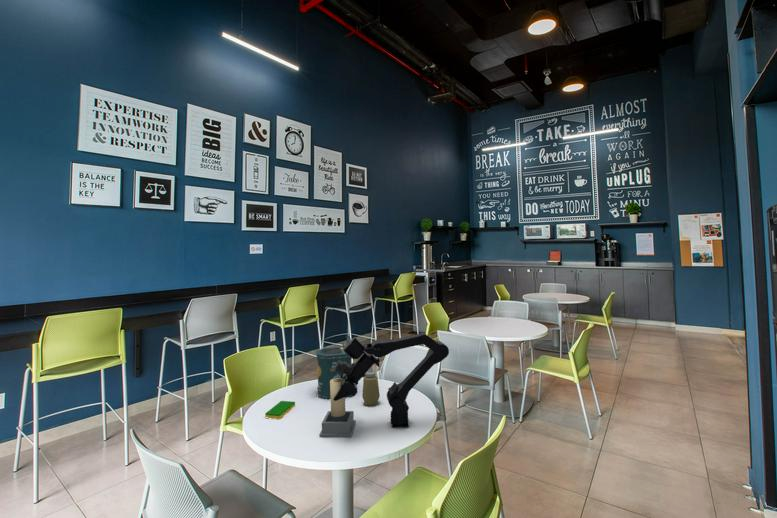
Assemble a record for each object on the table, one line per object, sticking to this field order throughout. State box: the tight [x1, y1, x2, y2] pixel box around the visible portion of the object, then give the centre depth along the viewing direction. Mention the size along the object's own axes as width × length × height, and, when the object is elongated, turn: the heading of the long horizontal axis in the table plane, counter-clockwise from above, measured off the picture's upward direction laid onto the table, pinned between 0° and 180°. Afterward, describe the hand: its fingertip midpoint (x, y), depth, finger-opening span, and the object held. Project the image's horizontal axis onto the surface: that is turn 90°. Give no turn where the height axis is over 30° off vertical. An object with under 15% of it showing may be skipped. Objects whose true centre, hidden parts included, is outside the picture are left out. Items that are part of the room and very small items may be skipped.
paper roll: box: [330, 378, 346, 417], centre depth 140 cm, size 6×6×13 cm
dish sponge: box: [264, 400, 296, 420], centre depth 158 cm, size 7×14×2 cm, turn 168°
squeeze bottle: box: [361, 366, 381, 407], centre depth 164 cm, size 8×8×18 cm
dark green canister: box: [316, 332, 353, 401], centre depth 178 cm, size 16×16×28 cm
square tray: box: [319, 410, 357, 438], centre depth 140 cm, size 12×12×5 cm
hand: (334, 397), depth 140 cm, fingers closed on paper roll, 6 cm apart
